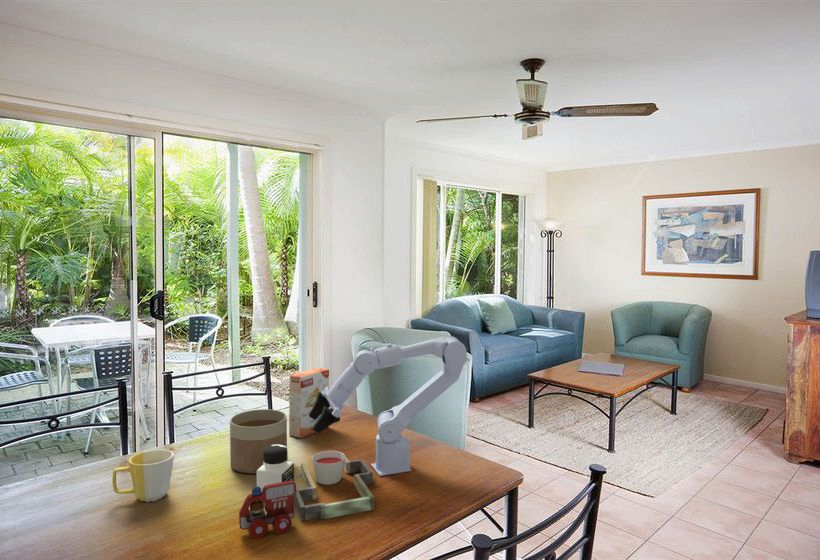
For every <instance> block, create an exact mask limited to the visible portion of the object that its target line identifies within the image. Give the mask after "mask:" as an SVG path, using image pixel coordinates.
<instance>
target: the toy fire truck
mask: <svg viewBox="0 0 820 560" xmlns="http://www.w3.org/2000/svg"><path fill="white" fill-rule="evenodd" d="M296 490H297V484H296V482H295V480H294V481H286V482H281V483H276V484H270V485H266V486H264V487H263V490H262V492H261V488H260V487H259V486H257V485H256V486H254V487H253V488H252V489H251V493H250V494H248V495H246V497H245V500H244V501H243V503H242V506H241V508H240V510H239V512H238V513H239V514H238V516H239V517H238V520H239V524H238V525H239V528H240V529H241V530H248V531H249V535H250V536H251V537H252V538H253V539H261V538H264V536H266V534H267V532H268V531H269V525H272V528H273V531H274V532H275V533H276V534H280V535H281V534H282V535H283V534H286V533H288V532H289V530H290V529H291V527H292V524H293V523H292V522H293V521H292V519H294V517H295V503H294V494H295V493H296ZM265 512H266V513H265Z"/></svg>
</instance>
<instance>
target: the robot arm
mask: <svg viewBox="0 0 820 560" xmlns="http://www.w3.org/2000/svg"><path fill="white" fill-rule="evenodd" d="M425 355H427V356H428V355H433V356H435V357H438V358H440V359H441V369H440V371H439V372H437V373H436V374H435V375H434V376H433V377H431V378H430V379H429V380H428V381H426V382H425V383H424V384H423V385H421V386H420V388H418V389H417V390H416V391H415V392H413V393H412V394H411V395H410V396H409V397H407V398H406V399H404V401H402V402H401V403H400V404H399V405H398V404H397V405H395V406H393V407H391V409H388V410H385V411H382V412H381V413H379V414H378V416H377V418H376V425H377V429H378V431H377V434H376V436H375V462H373V463H371V464H370V466H371V467H372V469H373V470H374V471H375V472H376V473H377V474H378V476H379V477H382V476H383V477H384V476H388V475H394V474H400V473H406V472H407V473H408V472H411V471H412V469H411V446H410V441H409V439H408V437H407V436H406V435H401V434H402V432H403V431H404V430H406V428H407V427H408V425H409V424H410V421H411V420H412V419H413V418H414V417H416V416H417V415H418V414H419V413H420V412H422V411H423V410H424V409H425V408H426V407H428V406H429V405H430V404H431V403H433V401H435V400H436V399H437V398H438V397H440V396H441V395H442V394H443V393H444V392H445V391H447V390H448V389H449V388H450V387H452V386H453V385H454V384H455V383H456V382H457V381H458V380H459V379H460V376H461V374H462V371H463V368H464V365H465V364H466V363H467V361H468V357H467V356H468V354H467V348H466V346H465V345H464V343H463V342H461V341H460V340H459V339H458V338H457V337H455V336H452V335H447V336H445V337H441V336H439V337H436V338H432V339H428V340H424V341H420V342H417V343H413V344H409V345H406V346H402V347H400V346H398V345H397V344H392V343H386V346H383V347H378V348H374V347H370V348H369V350H368V349H362V350H360V351H359V352H356V354H355V355H354V358H353V359H354V360H353V361H352V362H351V363H350V364H349V365H348V366H347V367H346V368H345V370H344V371H343V372H342V373H341V375H340V376H339V377H338V378H337V379H336V381H335V382H334V383H333V384H331V387H330V386H329V387H328V386H327V387H326V388H325V390H324V391H323V392H322V393H321V392H318V394H317V398H316V401H315V404H314V406H313V408H312V410H311V412H310V414H309V417H311V418H312V419H314V420H315V419H316V418H318V417H319V416H320V415H321V416H320V417H319V419H318V421H317V422H316V424H315V425H314V427H313V430H314V431H316V432H315V433H317V434H320V433H322V432H323V431H324V430H325V429H327V427H328V428H329V427H330V426H332V425H333V424H335V423H338V422H340V420H341V417H340V416H341V415H342V414H343V412H342V411H343V406H344V404H345V403H346V402H347V400H348V399H349V397H351V396H352V395H353V393H354V392H355V391H356V390H357V388H358V387H359V385H361V383H362V382H363V380H364V379H365V377H366V376H367V375H370V374H372V373H373V372H374V371H375V370H379V369H385V368H389V367H393V366H398V365H400V364H401V363H402V362H403V360H404V359H410V358H415V357H421V356H425Z"/></svg>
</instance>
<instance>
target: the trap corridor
mask: <svg viewBox="0 0 820 560" xmlns="http://www.w3.org/2000/svg"><path fill="white" fill-rule="evenodd" d="M343 472H345V473H346V474H350V473H354V474H353V480H354V481H353V486H354V487H355V489H356V490H357V492H358V494H359V495H360V496H361V497H358V498H351V499H347V500H341V501H336V502H329V503H324V502H323V501H322V502H319V503H312V504H307V505H305V504H304V503H305V502H309V501H316V500H317V486H316V484H315V482H314V479H313V478H312V476H311V474H310V472H309V470H308V468H307V466H306V464H305V462H303V463H300V475H301V478H302V480H303V482H304V485H305V486H306V487H302V488H297V489H296V493H295V494H294V507H295V508H296V511H297V513H298V516H299V519H300V521H303V520H305V521H310V520H314V519H319V518H320V520H325V519H331V518H335V517H341V516H348V515H353V514H357V513H363V512H367V511H373V510H375V496H374V495H373V493H372V492H371V490H370V489H369V488H368V486H369V485H371V484H373V480H374V478H373V474H374V473H373V471H372V469H371V468H370V466H368V464H367V463H366V462H365V460H364V459H353V460H349V459H348V458H347V457H346V456H345V462H344V467H343ZM357 472H360V473H357ZM355 473H356V474H355Z"/></svg>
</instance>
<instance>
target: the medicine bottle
mask: <svg viewBox="0 0 820 560" xmlns="http://www.w3.org/2000/svg"><path fill="white" fill-rule="evenodd" d="M288 460H289V459H288V446H287V447H286V446H284V445H278V444H276V445H271V446H268V447H266V448H265V449H264V450H263V464H264V465H262V466H261V467H260V468H259V469H258V470H257V473H256V486H259V487H260V488H261V492H262V490H263V487H264V486H266V485H270V484H276V483H281V482H286V481H294V482H295V462H294V461H291V460H290V461H288Z"/></svg>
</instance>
